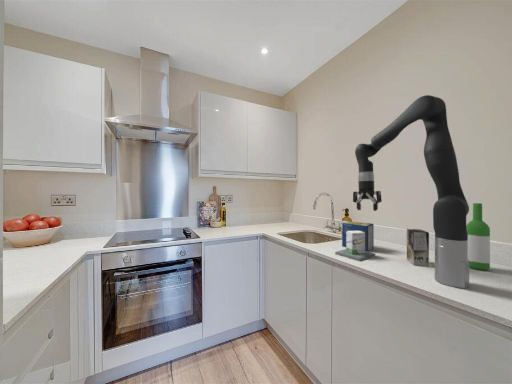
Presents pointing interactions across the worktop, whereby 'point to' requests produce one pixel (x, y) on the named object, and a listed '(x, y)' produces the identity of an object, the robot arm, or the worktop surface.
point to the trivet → (355, 255)
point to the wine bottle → (478, 240)
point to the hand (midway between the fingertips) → (366, 210)
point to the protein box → (359, 226)
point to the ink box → (355, 242)
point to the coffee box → (418, 247)
